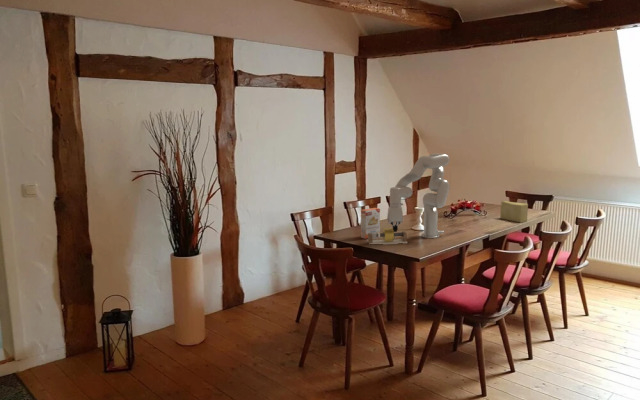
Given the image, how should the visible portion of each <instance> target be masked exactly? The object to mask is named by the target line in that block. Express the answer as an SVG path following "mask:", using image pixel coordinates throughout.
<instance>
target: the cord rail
mask: <svg viewBox="0 0 640 400" xmlns="http://www.w3.org/2000/svg"><path fill="white" fill-rule="evenodd" d="M383 237H385V233H383V232H382V233H381V231H380V232H378V233H377V234H376V232H371V233H368V239H367V243H368V242H369V243H368V244H369V245H370V244H383V245H399V244H398V243H403V244H408V240H407V238H408V237H407V232H406V231H401V232H394V237H401V239H400V238H399V239H398V238H397V239H395V238H394V241H385V240H384V239H381V238H383ZM373 239H376V240H373ZM378 239H380V240H378Z"/></svg>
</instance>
